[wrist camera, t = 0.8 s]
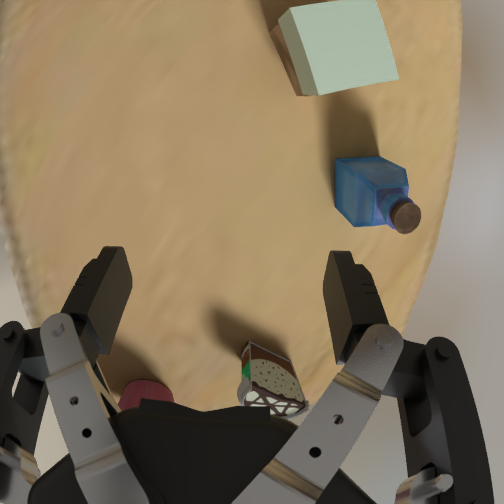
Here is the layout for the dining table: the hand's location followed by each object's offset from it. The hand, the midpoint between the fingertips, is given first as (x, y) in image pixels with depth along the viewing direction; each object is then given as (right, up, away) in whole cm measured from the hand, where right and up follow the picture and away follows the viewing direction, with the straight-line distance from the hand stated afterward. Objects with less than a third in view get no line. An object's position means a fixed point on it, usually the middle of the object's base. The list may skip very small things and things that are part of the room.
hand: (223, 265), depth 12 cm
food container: (+2, -18, +39) cm, 42 cm away
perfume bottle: (+14, +9, +26) cm, 31 cm away
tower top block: (+8, +20, +13) cm, 25 cm away
